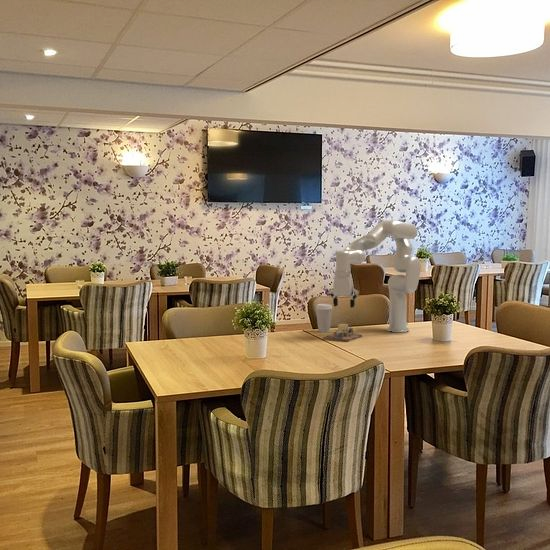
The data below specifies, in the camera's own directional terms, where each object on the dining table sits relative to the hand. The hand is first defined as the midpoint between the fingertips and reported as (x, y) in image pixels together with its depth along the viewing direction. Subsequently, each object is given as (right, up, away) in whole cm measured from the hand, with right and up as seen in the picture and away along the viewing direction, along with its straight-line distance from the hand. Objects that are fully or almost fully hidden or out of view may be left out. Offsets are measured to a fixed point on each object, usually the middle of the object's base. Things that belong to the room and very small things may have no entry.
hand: (343, 306), depth 329 cm
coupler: (0, -15, +1) cm, 16 cm away
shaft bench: (0, -17, +1) cm, 17 cm away
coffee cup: (-9, -15, +21) cm, 27 cm away
